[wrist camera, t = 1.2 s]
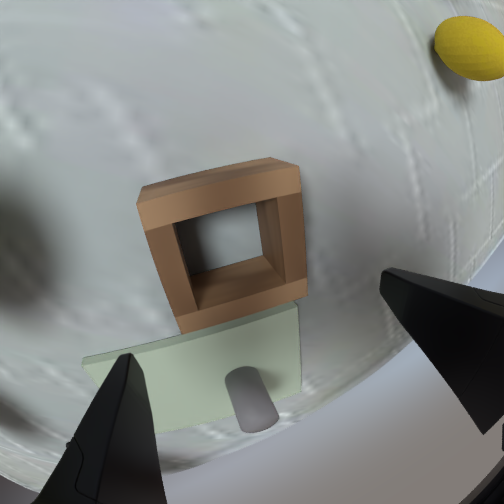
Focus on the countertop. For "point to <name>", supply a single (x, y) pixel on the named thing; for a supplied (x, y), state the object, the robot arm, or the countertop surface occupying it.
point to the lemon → (471, 48)
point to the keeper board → (218, 371)
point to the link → (238, 274)
